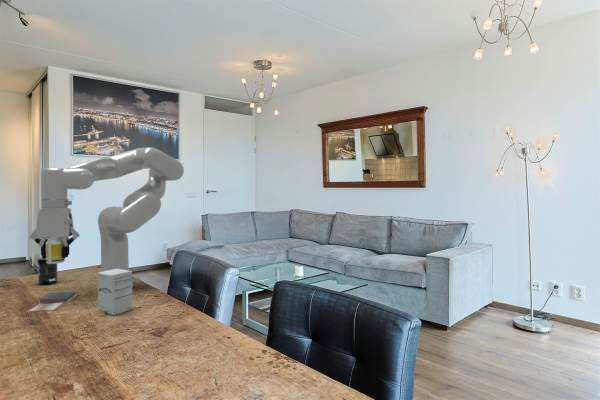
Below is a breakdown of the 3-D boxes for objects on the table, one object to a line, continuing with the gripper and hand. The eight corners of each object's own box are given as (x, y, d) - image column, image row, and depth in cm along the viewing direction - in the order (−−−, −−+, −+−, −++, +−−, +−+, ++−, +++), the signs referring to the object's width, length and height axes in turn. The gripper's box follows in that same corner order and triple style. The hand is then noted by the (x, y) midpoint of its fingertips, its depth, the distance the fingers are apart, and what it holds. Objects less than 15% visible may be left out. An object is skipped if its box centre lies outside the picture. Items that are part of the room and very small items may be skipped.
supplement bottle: (68, 261, 134) (68, 233, 133) (56, 264, 128) (56, 235, 128) (54, 260, 134) (53, 232, 134) (41, 263, 129) (41, 234, 129)
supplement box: (97, 312, 122) (96, 272, 121) (118, 305, 128) (117, 267, 128) (112, 315, 118) (112, 275, 118) (133, 309, 125) (132, 270, 124)
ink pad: (75, 294, 138) (75, 291, 138) (66, 301, 130) (66, 298, 130) (50, 296, 136) (50, 292, 136) (39, 303, 128) (39, 299, 128)
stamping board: (77, 296, 138) (77, 293, 138) (56, 313, 121) (56, 309, 121) (49, 298, 136) (49, 295, 136) (23, 314, 119) (23, 311, 119)
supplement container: (50, 280, 161) (49, 255, 161) (61, 282, 159) (61, 257, 158) (34, 284, 155) (33, 258, 155) (45, 286, 153) (44, 260, 152)
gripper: (86, 203, 136) (86, 255, 136) (31, 204, 133) (32, 256, 133) (77, 204, 129) (78, 259, 129) (20, 205, 125) (21, 260, 126)
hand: (55, 257), depth 131 cm, fingers closed on supplement bottle, 5 cm apart
